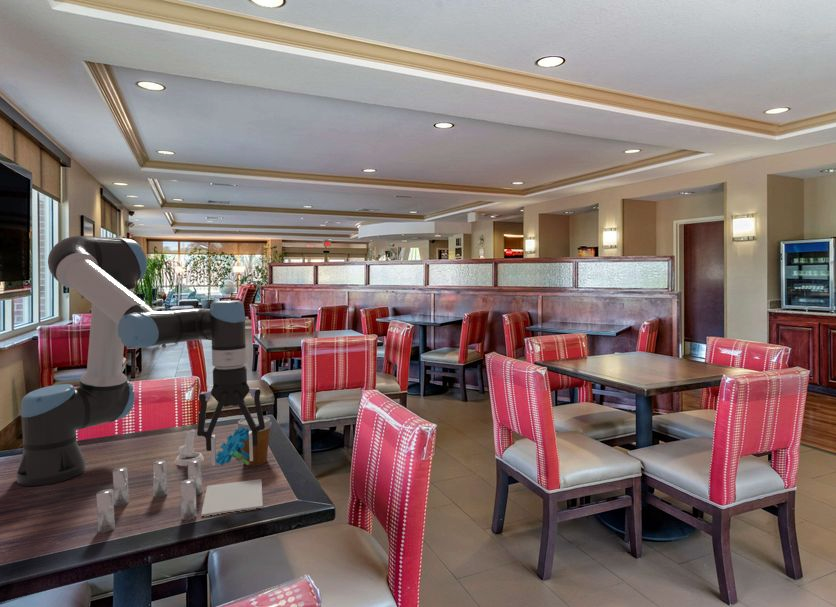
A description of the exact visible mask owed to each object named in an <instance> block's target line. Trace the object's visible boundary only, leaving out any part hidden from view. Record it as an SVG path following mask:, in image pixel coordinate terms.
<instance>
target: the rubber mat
mask: <svg viewBox="0 0 836 607" xmlns="http://www.w3.org/2000/svg"><path fill="white" fill-rule="evenodd" d="M262 481H263V480H262V478H259V479H252V480H242V481H235V482H228V483H226V482H225V483H220V484H218V483H217V484H211V485H207V486H206V490H205V495H204V499H203V504H202V510H201V515H200V516H204V517H211V516H210V515H212V516H217V514H219V515H222V514H221V513H226V512H233V513H235V512H234V511H240V512H242V511H241V510H247V511H249V510H248V509H254V510H256V509H255V508H261V509H263V508H264V507H263V506H264V503H263V486H262V485H263V482H262ZM226 514H227V513H226Z"/></svg>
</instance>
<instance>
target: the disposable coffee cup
mask: <svg viewBox="0 0 836 607" xmlns="http://www.w3.org/2000/svg"><path fill="white" fill-rule="evenodd" d="M252 418H253V420H254V422H255V424H256V425H258V424H259V422H258V417H257V415H256V416H252ZM263 418H264V423H265V428H264V429H263V430H260V431H258V433H257V441H258V444H257V446H253V461H250V455H249V437H248V439H247V440H246V441H245V440H243V441H242V442H243V443H244V444H245V446H244V447H243V448H242V450H243V451H244V452H246V453H247V454H248V455H249V457H248V458H247V459H246V458H245V457H243V458H244V459H245V460H247V461H248V462H249V464H248V465H246V464H245V463H244V462H243V465H245V466H247V467H248V466H249V467H252V466H253V467H254V466H255V465H256V466H261V465H263V464H265V463H267V460H268V450H269V442H270V440H269V439H270V431H271V426H272V421H271V418H270V417H268V416H264V415H263ZM241 427H244V428H245V429H246V428H247V429H248V430H249V431H251V429H250V427H249V425H248V423H247V421H246V419H245V417H244V418H241V419H240V420H238V421H237V425H236V430H237V429H238V430H240V429H241ZM247 435H249V433H248V434H247Z"/></svg>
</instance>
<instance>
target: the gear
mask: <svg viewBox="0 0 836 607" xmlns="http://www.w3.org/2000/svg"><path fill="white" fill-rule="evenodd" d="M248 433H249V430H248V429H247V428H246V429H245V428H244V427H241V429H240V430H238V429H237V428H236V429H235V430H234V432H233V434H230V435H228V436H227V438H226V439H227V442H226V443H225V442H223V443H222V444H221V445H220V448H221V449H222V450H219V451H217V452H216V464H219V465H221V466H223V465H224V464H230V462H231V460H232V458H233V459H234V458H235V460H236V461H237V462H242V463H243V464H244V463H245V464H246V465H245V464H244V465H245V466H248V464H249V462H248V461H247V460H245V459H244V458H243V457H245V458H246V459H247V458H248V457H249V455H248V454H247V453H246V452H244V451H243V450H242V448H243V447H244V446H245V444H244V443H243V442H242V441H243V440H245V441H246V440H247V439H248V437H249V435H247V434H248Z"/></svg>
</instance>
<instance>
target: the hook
mask: <svg viewBox="0 0 836 607" xmlns="http://www.w3.org/2000/svg"><path fill="white" fill-rule="evenodd" d="M195 434H196V431H195V429H190V430H188V431H186V433H185V438H184V444H183V445H181V446H179V447H178V449H177V452H178V454H179V455H178V456H177V457H176V458H175V461H174V465H175V464H176V465H175V466H177V465H179V466H178V467H188V466H187V465H188V461H190V460H195V459H199V460H201V463H202V462H203V461H204V459H205V458H204V456H203V454H202V453H201V452H199V451H198V452H197V451H195V449H194V445H193V444H194V439H195ZM186 457H188V458H186Z"/></svg>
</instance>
